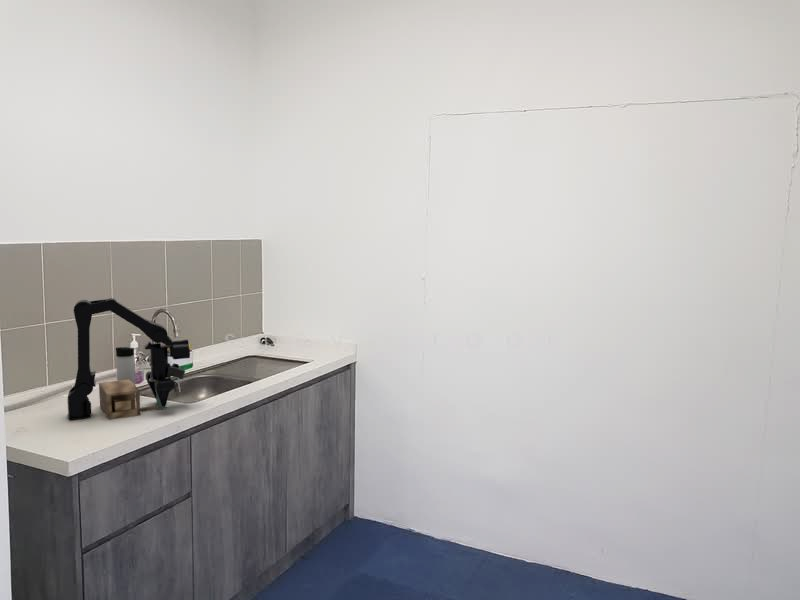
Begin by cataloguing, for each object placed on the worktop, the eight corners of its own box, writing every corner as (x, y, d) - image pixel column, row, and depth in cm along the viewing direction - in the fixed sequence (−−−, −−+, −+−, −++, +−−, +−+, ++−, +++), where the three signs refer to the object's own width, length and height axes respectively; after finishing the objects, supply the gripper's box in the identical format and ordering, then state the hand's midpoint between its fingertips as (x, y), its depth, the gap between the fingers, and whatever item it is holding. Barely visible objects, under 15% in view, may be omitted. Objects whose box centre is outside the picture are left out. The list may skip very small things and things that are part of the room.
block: (115, 416, 215) (115, 402, 214) (113, 413, 219) (112, 399, 218) (166, 409, 224) (166, 395, 223) (163, 405, 228) (162, 392, 227)
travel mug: (113, 399, 235) (111, 347, 233) (128, 395, 241) (126, 344, 238) (124, 402, 232) (122, 348, 230) (139, 397, 238) (137, 346, 236)
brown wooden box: (108, 419, 211) (107, 394, 210) (100, 406, 226) (98, 382, 225) (140, 414, 217) (139, 390, 216) (130, 402, 232) (129, 379, 230)
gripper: (189, 362, 220) (190, 406, 222) (175, 353, 235) (177, 394, 237) (156, 366, 214) (157, 411, 216) (144, 356, 229) (146, 398, 231)
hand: (160, 403), depth 225 cm, fingers open, 9 cm apart
